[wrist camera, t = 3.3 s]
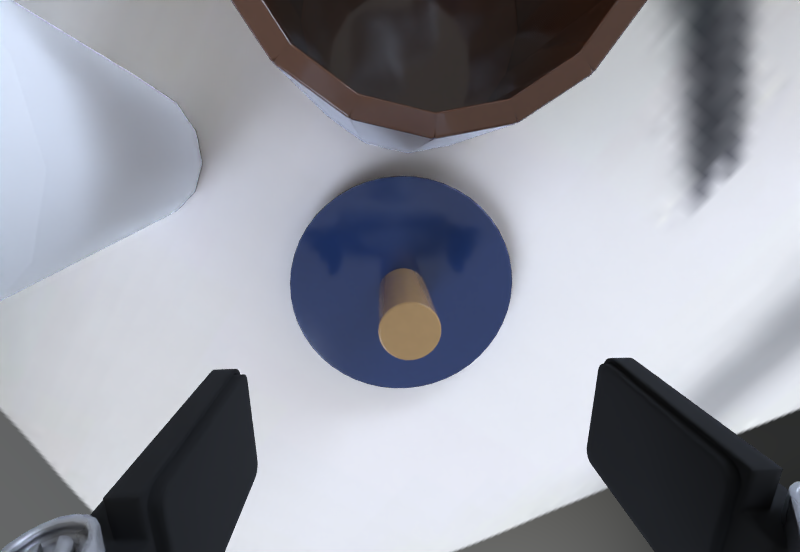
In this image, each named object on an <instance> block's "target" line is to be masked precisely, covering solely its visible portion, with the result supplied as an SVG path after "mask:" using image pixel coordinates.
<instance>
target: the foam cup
mask: <svg viewBox="0 0 800 552" xmlns="http://www.w3.org/2000/svg"><path fill="white" fill-rule="evenodd" d="M201 167H202V159H201V154H200V149H199V144H198V139H197V134H196V131H195V129H194V128H193V126H192V125H191V124H190V122H189V121H188V119H187V118H186V116H185V115H184V113H183V112H182V110H181V109H180V107H179V106H178V104H177V103H176V102H175V101H173V100H172V99H170V98H169V97H167V96H166V95H164V94H163V93H161V92H160V91H158V90H157V89H155V88H154V87H152V86H151V85H149V84H148V83H146V82H145V81H143V80H142V79H140V78H139V77H137V76H136V75H134V74H132V73H131V72H129V71H127V70H126V69H124V68H123V67H121V66H119V65H118V64H116V63H114V62H113V61H111V60H109V59H108V58H106V57H105V56H103V55H101V54H100V53H98V52H96V51H95V50H93V49H92V48H90V47H88V46H87V45H85V44H83V43H82V42H80V41H78V40H77V39H75V38H74V37H72V36H70V35H69V34H67V33H65V32H64V31H62V30H60V29H59V28H57V27H56V26H54V25H52V24H51V23H49V22H47V21H46V20H44V19H43V18H41V17H39V16H38V15H36V14H34V13H33V12H31V11H29V10H28V9H26V8H25V7H23V6H21V5H20V4H18V3H16V2H15V1H13V0H0V301H2V300H3V299H5V298H7V297H9V296H11V295H13V294H15V293H17V292H19V291H21V290H23V289H25V288H27V287H29V286H31V285H33V284H35V283H37V282H39V281H41V280H43V279H45V278H47V277H49V276H51V275H53V274H55V273H57V272H59V271H61V270H63V269H65V268H66V267H68V266H70V265H72V264H74V263H76V262H78V261H80V260H82V259H84V258H86V257H88V256H90V255H92V254H94V253H96V252H98V251H100V250H102V249H104V248H106V247H108V246H110V245H112V244H114V243H116V242H118V241H120V240H122V239H124V238H126V237H127V236H129V235H131V234H133V233H135V232H137V231H139V230H141V229H143V228H145V227H147V226H149V225H151V224H153V223H155V222H157V221H159V220H161V219H163V218H165V217H167V216H169V215H171V213H173V212H176V211H177V210H178V209H179V208H180V207H181V206H182V205H183V204H184V203H185V202H186V200H187V199H188V198H189V197H190V196H191V195H192V194H193V193H194V192H195V190H196V186H197V182H198V178H199V174H200V170H201Z"/></svg>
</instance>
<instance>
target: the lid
mask: <svg viewBox="0 0 800 552" xmlns="http://www.w3.org/2000/svg"><path fill="white" fill-rule="evenodd" d="M511 288H512V270H511V264H510V258H509V254H508V251H507V248H506V245H505V242H504V240H503V238H502V236H501V234H500V232H499V230H498V228H497V227H496V225H495V224H494V222H493V221H492V219H491V218H490V217H489V216H488V214H487V213H486V212H485V211H484V210H483V209H482V208H481V207H480V206H479V205H478V204H477V203H475V202H474V201H473V200H472V199H471V198H470V197H468V196H466V195H465V194H463V193H462V192H460V191H458V190H457V189H455V188H452V187H450V186H448V185H446V184H444V183H441V182H437V181H434V180H431V179H427V178H420V177H414V176H392V177H384V178H379V179H375V180H371V181H367V182H364V183H362V184H360V185H357V186H355V187H352V188H350V189H349V190H347V191H345V192H344V193H342V194H340V195H338V196H337V197H336V198H335V199H333V200H332V201H331V202H329V203H328V204H327V205H326V206H325V207H324V208H323V209H322V210H321V211H320V212H319V213H318V214H317V215H316V216H315V217H314V219H313V220H312V221H311V223H310V224H309V225H308V227H307V228H306V230H305V232H304V234H303V235H302V237H301V239H300V241H299V244H298V246H297V249H296V252H295V254H294V258H293V263H292V268H291V278H290V290H291V300H292V305H293V310H294V313H295V316H296V319H297V321H298V324H299V326H300V328H301V330H302V332H303V334H304V336H305V337H306V339H307V340H308V342H309V343H310V345H311V346H312V347H313V349H314V350H315V351H316V352H317V353H318V354H319V355H320V356H321V357H322V358H323V359H324V360H325V361H326V362H328V363H329V364H330V365H331V366H332V367H334V368H335V369H337V370H339V371H340V372H342V373H343V374H345V375H347V376H349V377H351V378H353V379H355V380H358V381H361V382H364V383H367V384H371V385H375V386H380V387H388V388H411V387H419V386H424V385H428V384H432V383H435V382H438V381H440V380H443V379H446V378H448V377H450V376H452V375H454V374H456V373H458V372H459V371H461V370H462V369H464V368H465V367H467V366H468V365H470V364H471V363H472V362H473V361H474V360H475V359H476V358H478V357H479V356H480V355H481V354H482V353H483V352H484V350H485V349H486V348H487V347H488V346H489V345H490V343H491V342H492V340H493V339H494V338H495V336H496V335H497V333H498V331H499V329H500V327H501V325H502V323H503V321H504V318H505V316H506V313H507V310H508V306H509V302H510V298H511Z"/></svg>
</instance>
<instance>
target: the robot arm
mask: <svg viewBox="0 0 800 552" xmlns="http://www.w3.org/2000/svg"><path fill="white" fill-rule="evenodd" d="M587 455H588V459H589V461H590V463H591V465H592V466H593V467H594V469H595V470H596V471H597V473H598V474H599V476H600V477H601V478H602V480H603V481H604V483H605V484H606V485H607V487H608V488H609V489H610V491H611V492H612V494H613V495H614V496H615V498H616V499H617V501H618V502H619V503H620V505H621V506H622V507H623V509H624V510H625V512H626V513H627V514H628V516H629V517H630V519H631V520H632V521H633V523H634V524H635V525H636V527H637V528H638V530H639V531H640V532H641V534H642V535H643V537H644V538H645V539H646V540H647V542H648V543H649V545H650V546H651V547H652V549H653V550H654V552H800V482H795V483H794V484H792V485H791V486H790V487H789V490H787V489H786V488H785V487H784V486H782V485H781V484H780V483H779V480H780V477H781V473H782V470H783V469H782V468H781V467H780V466H778V465H777V464H776V463H774V462H773V461H772V460H770V459H769V458H767V457H766V456H765V455H763V454H762V453H761V452H759V451H758V450H757V449H755V448H754V447H753V446H751V445H750V444H748V443H747V442H746V441H744V440H743V439H742V438H740V437H739V436H738V435H736V434H735V433H734V432H732V431H731V430H729V429H728V428H727V427H725V426H724V425H723V424H721V423H720V422H719V421H717V420H716V419H714V418H713V417H712V416H710V415H709V414H708V413H706V412H705V411H704V410H702V409H701V408H700V407H698V406H697V405H695V404H694V403H693V402H691V401H690V400H689V399H687V398H686V397H685V396H683V395H682V394H680V393H679V392H678V391H676V390H675V389H674V388H672V387H671V386H670V385H668V384H667V383H665V382H664V381H663V380H661V379H660V378H659V377H657V376H656V375H655V374H653V373H652V372H651V371H649V370H648V369H646V368H645V367H644V366H642V365H641V364H640V363H638V362H637V361H636V360H634V359H632V358H608V359H607V360H606V361H605V362H604V364H601V365H600V367H599V369H598V375H597V382H596V389H595V396H594V402H593V409H592V416H591V423H590V430H589V436H588V443H587ZM257 465H258V463H257V453H256V445H255V437H254V430H253V422H252V414H251V406H250V398H249V390H248V382H247V377H246V375H245V374H244V375H240V372H239V370H237V369H221V370H213V371H212V372H211V373H210V374H209V375H208V376H207V377H206V378H205V380H204V381H203V382H202V383H201V384H200V385H199V387H198V388H197V389H196V390H195V391H194V392H193V394H192V395H191V396H190V397H189V398H188V400H187V401H186V402H185V403H184V404H183V405H182V407H181V408H180V409H179V410H178V411H177V412H176V414H175V415H174V416H173V417H172V418H171V419H170V421H169V422H168V423H167V424H166V425H165V426H164V428H163V429H162V430H161V431H160V432H159V433H158V435H157V436H156V437H155V438H154V439H153V440H152V442H151V443H150V444H149V445H148V446H147V447H146V449H145V450H144V451H143V452H142V453H141V454H140V456H139V457H138V458H137V459H136V460H135V462H134V463H133V464H132V465H131V466H130V467H129V469H128V470H127V471H126V472H125V473H124V474H123V476H122V477H121V478H120V479H119V480H118V481H117V483H116V484H115V485H114V486H113V487H112V488H111V490H110V491H109V492H108V493H107V494H106V495H105V497H104V498H103V501H102V502H101V503H100V504H99V505H98V507H97V508H96V509H95V510H94V511H93V513H92V514H91V515H88V514H72V515H67V516H62V517H58V518H55V519H53V520H50V521H48V522H45V523H42V524H40V525H38V526H37V527H35V528H33V529H31V530H29V531H27V532H25V533H23V534H22V535H20V536H19V537H18V538H16V539H15V540H13V541H12V542H11V543H9V544H8V545H6V546H5V547H4V548H3V549H2V550H1V551H0V552H225V550H226V547H227V545H228V543H229V540H230V538H231V535H232V533H233V530H234V528H235V526H236V523H237V521H238V518H239V516H240V513H241V511H242V509H243V506H244V504H245V501H246V499H247V496H248V494H249V492H250V489H251V487H252V484H253V482H254V480H255V477H256V473H257Z"/></svg>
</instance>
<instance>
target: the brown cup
mask: <svg viewBox="0 0 800 552" xmlns="http://www.w3.org/2000/svg"><path fill="white" fill-rule="evenodd" d="M231 1H232V3H233V4H234V6H235V7H236V9H237V10H238V12H239V13H240V15H241V17H242V18H243V20H244V21H245V23H246V24H247V26H248V27H249V29H250V30H251V32H252V33H253V35H254V36H255V38H256V39H257V41H258V42H259V44H260V45H261V47H262V48H263V50H264V51H265V53H266V54H267V56H268V57H269V59H270V60H271V61H272V62H273V63H274V64H275V65H276V66H277V67H278V68H279V69H280V70H281V71H282V72H283V73H284V74H285V75H286V76H287V77H288V78H289V79H290V80H291V81H292V82H293V83H294V84H295V85H296V86H297V87H298V88H299V89H300V90H301V91H302V92H303V93H304V94H305V95H306V96H307V97H308V98H309V99H310V100H311V101H312V102H313V103H314V104H315V105H316V106H317V107H318V108H319V109H320V110H321V111H322V112H324V113H325V114H326V115H327V116H328V117H329V118H330V119H332V120H333V121H334V122H336V123H337V124H339V125H340V126H341V127H343V128H344V129H345V130H346V131H348V132H350V133H351V134H352V135H354V136H355V137H357V138H358V139H359V140H361V141H362V142H364V143H366V144H370V145H374V146H379V147H382V148H385V149H390V150H396V151H400V152H404V153H412V152H418V151H423V150H429V149H434V148H439V147H444V146H450V145H453V144H456V143H459V142H462V141H465V140H468V139H471V138H474V137H477V136H480V135H483V134H486V133H489V132H492V131H495V130H498V129H501V128H504V127H507V126H510V125H513V124H515V123H518V122H520V121H522V120H523V119H525V118H526V117H528V116H529V115H531V114H533V113H534V112H536V111H537V110H539V109H540V108H542V107H543V106H545V105H546V104H548V103H549V102H551V101H552V100H554V99H555V98H557V97H558V96H560V95H561V94H563V93H564V92H566V91H567V90H569V89H570V88H572V87H574V86H575V85H577V84H578V83H580V82H581V81H583V80H584V79H586V78H587V77H589V76H590V75H591V74H592V73H593V72H594V71H595V70H596V69H597V67H598V66H599V65H600V63H601V62H602V61H603V59H604V58H605V57H606V55H607V54H608V53H609V51H610V50H611V49H612V47H613V46H614V45H615V43H616V42H617V40H618V39H619V38H620V36H621V35H622V34H623V32H624V31H625V30H626V28H627V27H628V26H629V24H630V23H631V22H632V20H633V19H634V18H635V16H636V15H637V14H638V12H639V11H640V9H641V8H642V7H643V5H644V4H645V3H646V1H647V0H231Z"/></svg>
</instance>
